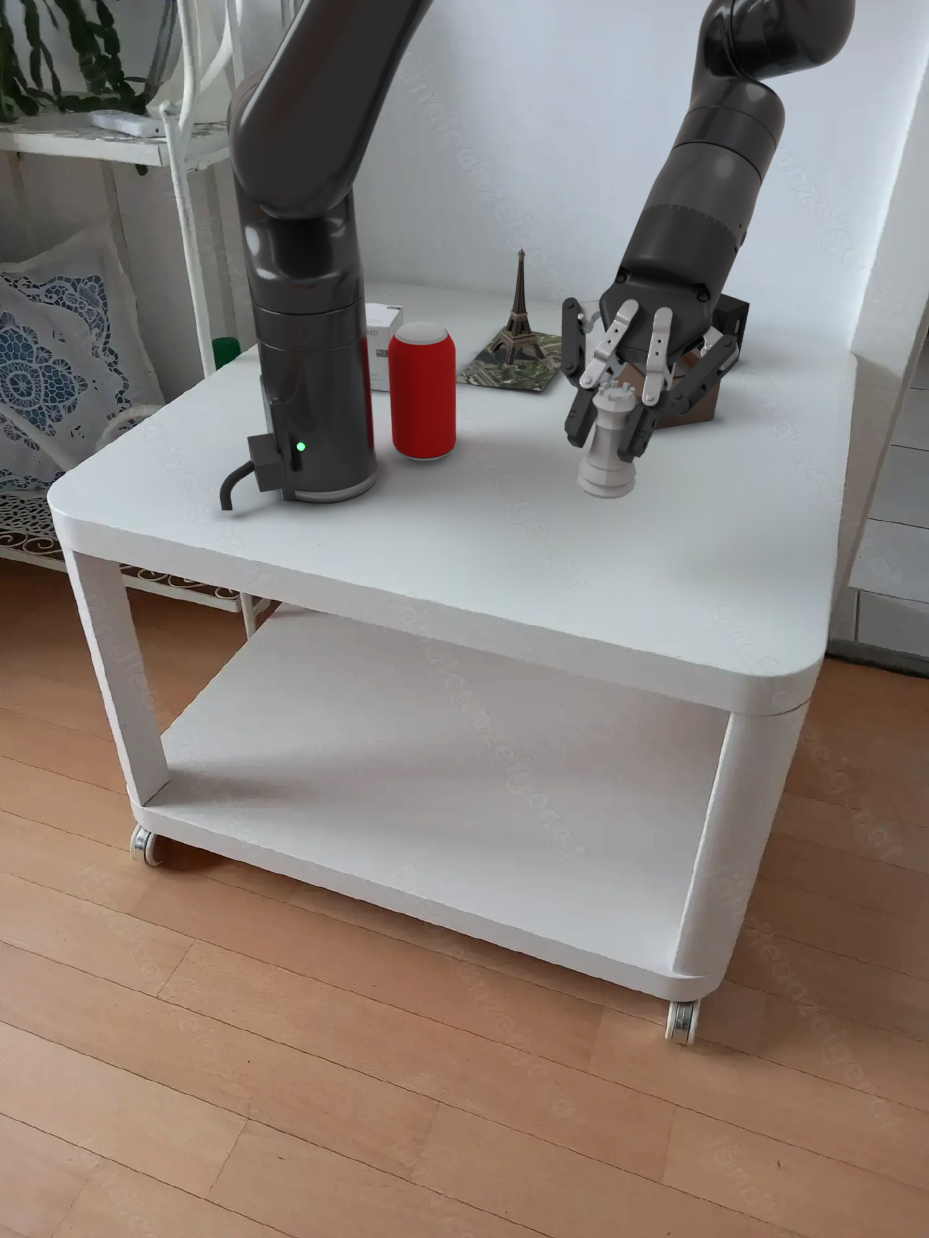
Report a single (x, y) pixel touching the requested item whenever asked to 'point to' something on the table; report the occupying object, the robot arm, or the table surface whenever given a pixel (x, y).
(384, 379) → the product carton
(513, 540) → the table surface
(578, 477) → the rook chess piece
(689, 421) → the wooden stepped block
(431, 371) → the beverage can
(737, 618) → the table surface
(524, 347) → the eiffel tower figurine
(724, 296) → the digital camera
